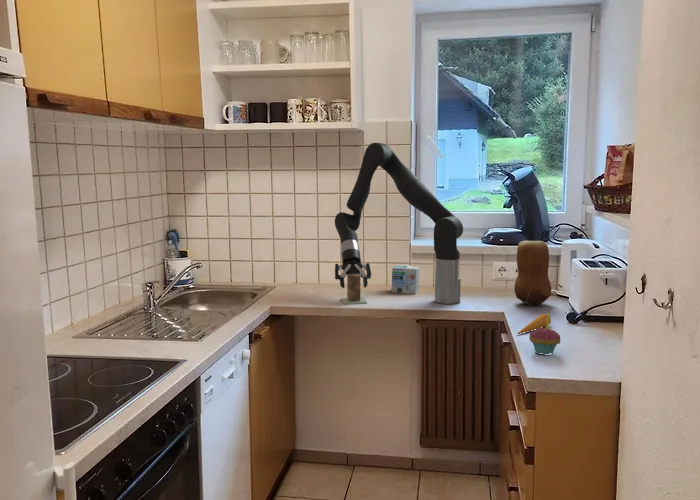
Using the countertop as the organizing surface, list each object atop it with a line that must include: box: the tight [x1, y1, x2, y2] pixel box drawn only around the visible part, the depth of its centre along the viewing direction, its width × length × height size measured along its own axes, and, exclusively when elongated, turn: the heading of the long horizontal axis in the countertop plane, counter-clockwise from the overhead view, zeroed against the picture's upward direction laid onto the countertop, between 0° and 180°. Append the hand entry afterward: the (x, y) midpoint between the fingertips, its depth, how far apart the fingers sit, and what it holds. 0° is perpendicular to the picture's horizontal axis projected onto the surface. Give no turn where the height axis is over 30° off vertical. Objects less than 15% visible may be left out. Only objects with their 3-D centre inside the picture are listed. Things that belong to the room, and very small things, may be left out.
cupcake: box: [529, 310, 561, 354], centre depth 169 cm, size 9×8×12 cm
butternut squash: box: [514, 240, 552, 306], centre depth 226 cm, size 14×13×25 cm
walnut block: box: [346, 274, 361, 301], centre depth 232 cm, size 4×4×10 cm
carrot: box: [516, 313, 552, 334], centre depth 192 cm, size 20×4×4 cm, turn 133°
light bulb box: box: [391, 264, 420, 295], centre depth 250 cm, size 11×7×11 cm, turn 73°
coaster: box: [340, 296, 368, 305], centre depth 233 cm, size 9×9×1 cm
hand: (354, 286), depth 230 cm, fingers open, 8 cm apart
